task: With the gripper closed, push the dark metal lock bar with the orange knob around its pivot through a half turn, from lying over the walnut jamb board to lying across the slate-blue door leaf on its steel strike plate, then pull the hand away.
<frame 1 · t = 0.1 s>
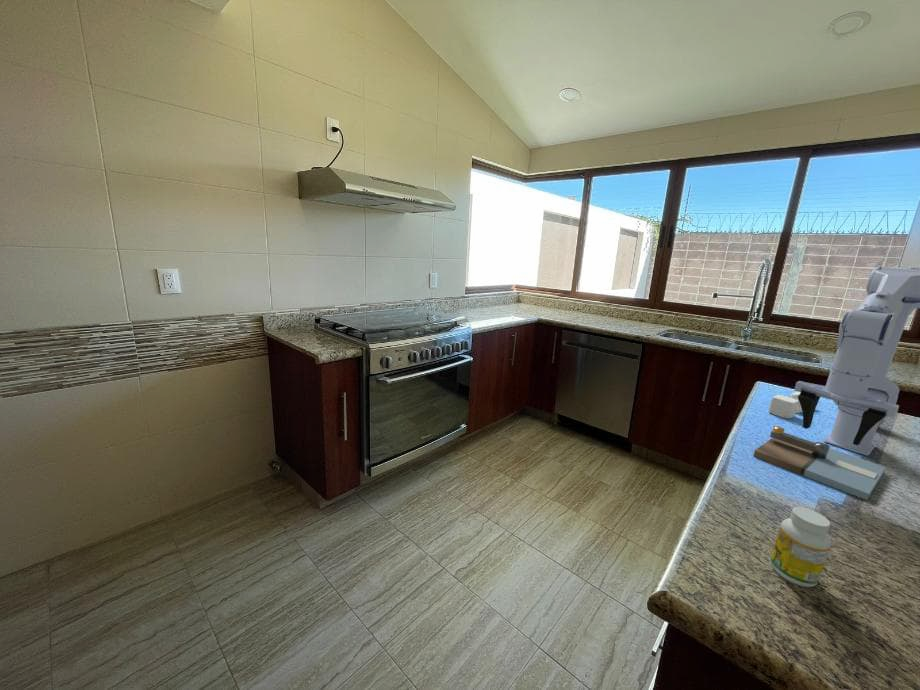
hand: (830, 435, 77), 10 cm above the worktop, tool pointing down, fingers open, 7 cm apart
supplement bottle: (792, 573, 55), on the worktop
salt shaker: (866, 426, 107), on the worktop
container set: (790, 411, 116), on the worktop
lock bar: (798, 441, 88), point 3 cm above the worktop, hinge at 0.0°
door leaf: (844, 474, 81), on the worktop
jamb board: (790, 454, 89), on the worktop
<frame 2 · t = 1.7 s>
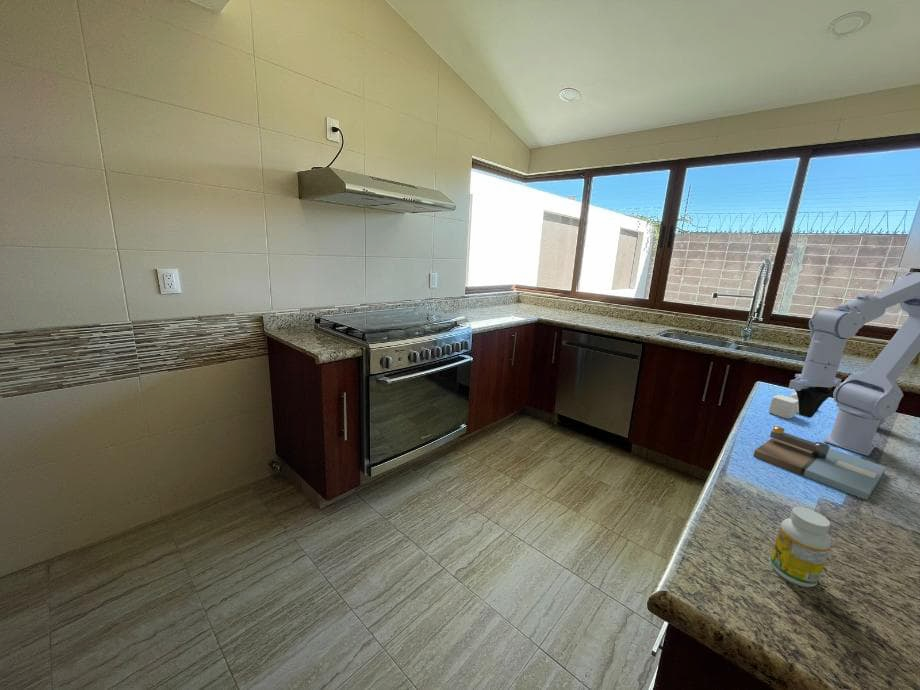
hand: (805, 415, 90), 8 cm above the worktop, tool pointing down, fingers closed
nothing on the worktop moved.
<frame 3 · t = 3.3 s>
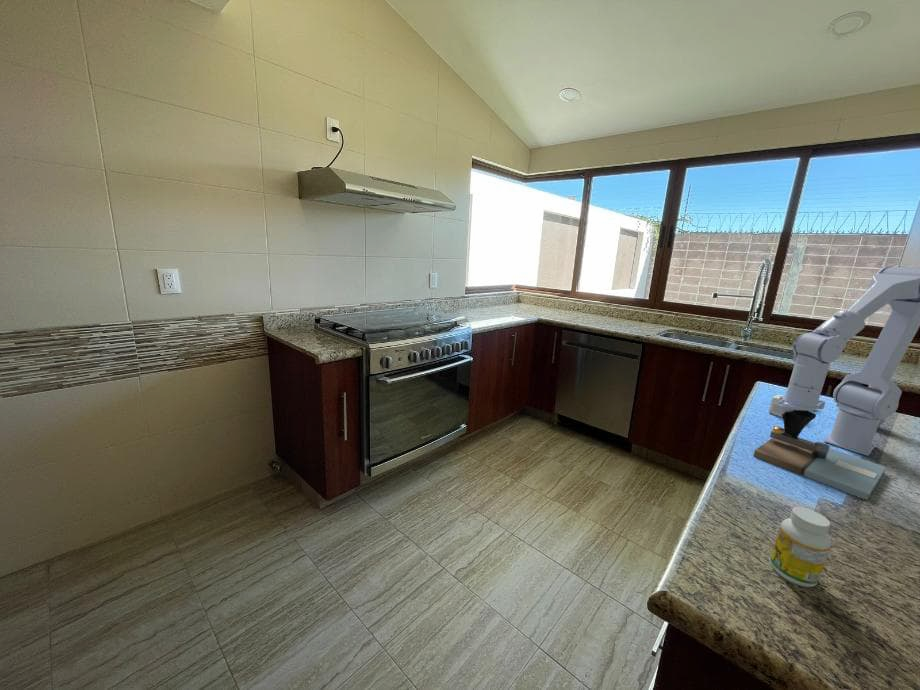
hand: (789, 437, 91), 3 cm above the worktop, tool pointing down, fingers closed, pressing on lock bar
lock bar: (798, 441, 88), point 3 cm above the worktop, hinge at 0.3°, touching gripper
everything else where it was.
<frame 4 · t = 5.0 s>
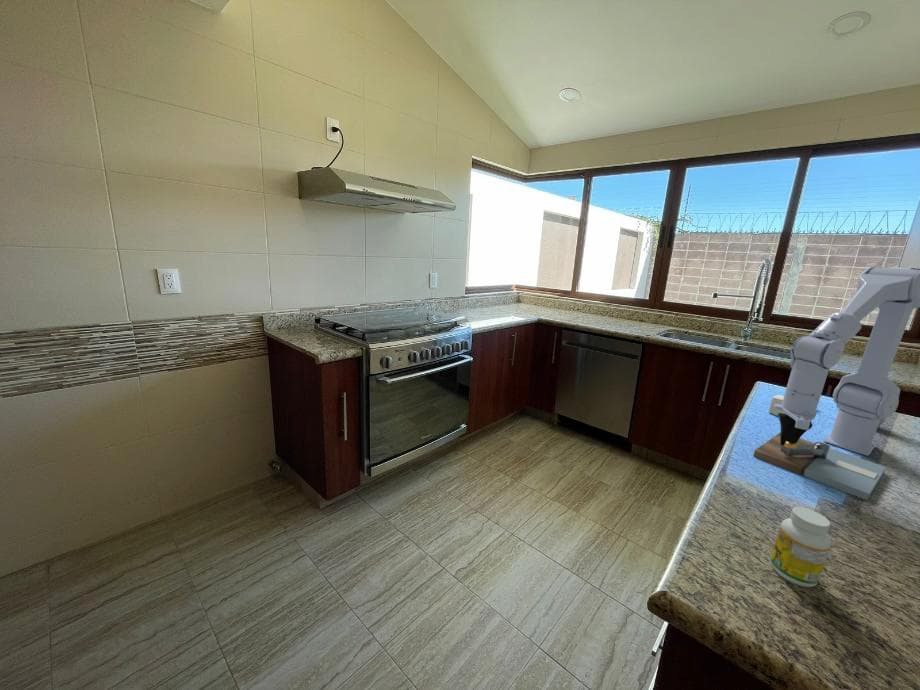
hand: (786, 446, 86), 3 cm above the worktop, tool pointing down, fingers closed, pressing on lock bar
lock bar: (805, 449, 84), point 3 cm above the worktop, hinge at 61.3°, touching gripper
everything else where it was.
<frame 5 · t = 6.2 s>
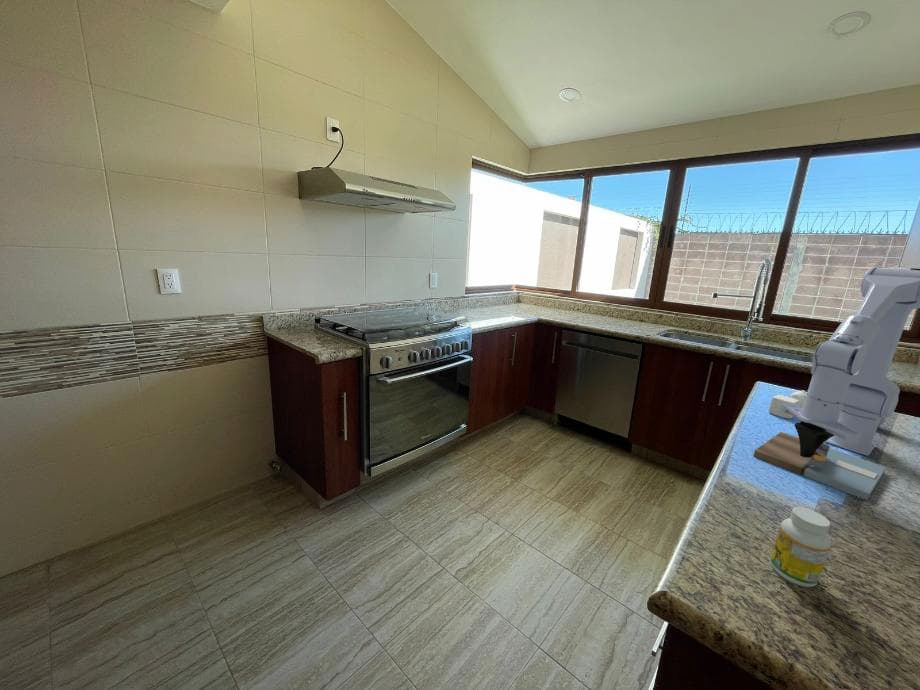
hand: (805, 456, 82), 3 cm above the worktop, tool pointing down, fingers closed, pressing on lock bar
lock bar: (819, 454, 82), point 3 cm above the worktop, hinge at 98.5°, touching gripper
everything else where it was.
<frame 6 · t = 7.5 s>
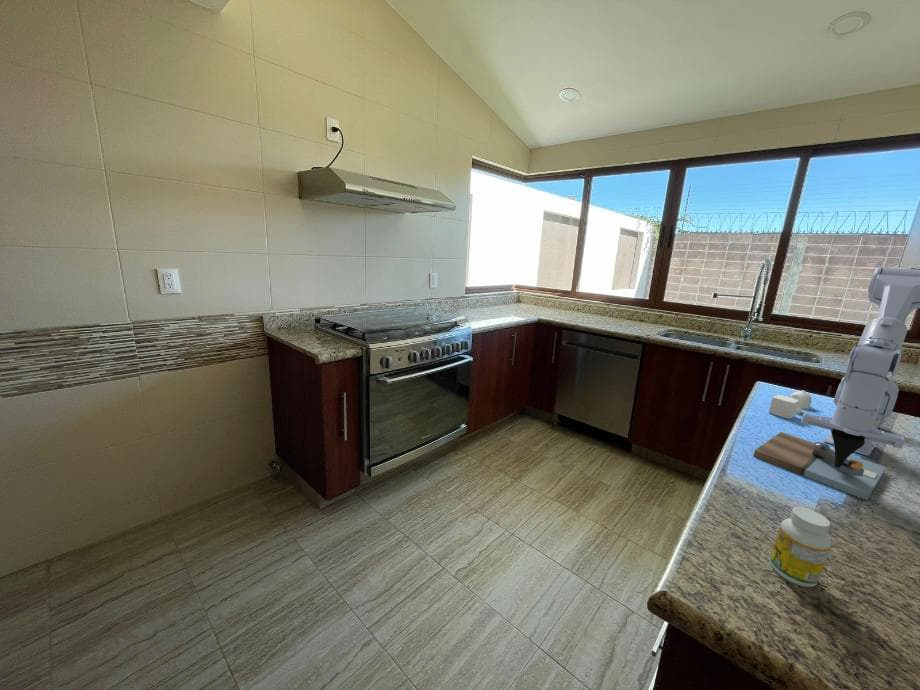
hand: (837, 465, 79), 3 cm above the worktop, tool pointing down, fingers closed, pressing on lock bar
lock bar: (836, 458, 81), point 3 cm above the worktop, hinge at 140.1°, touching gripper
everything else where it was.
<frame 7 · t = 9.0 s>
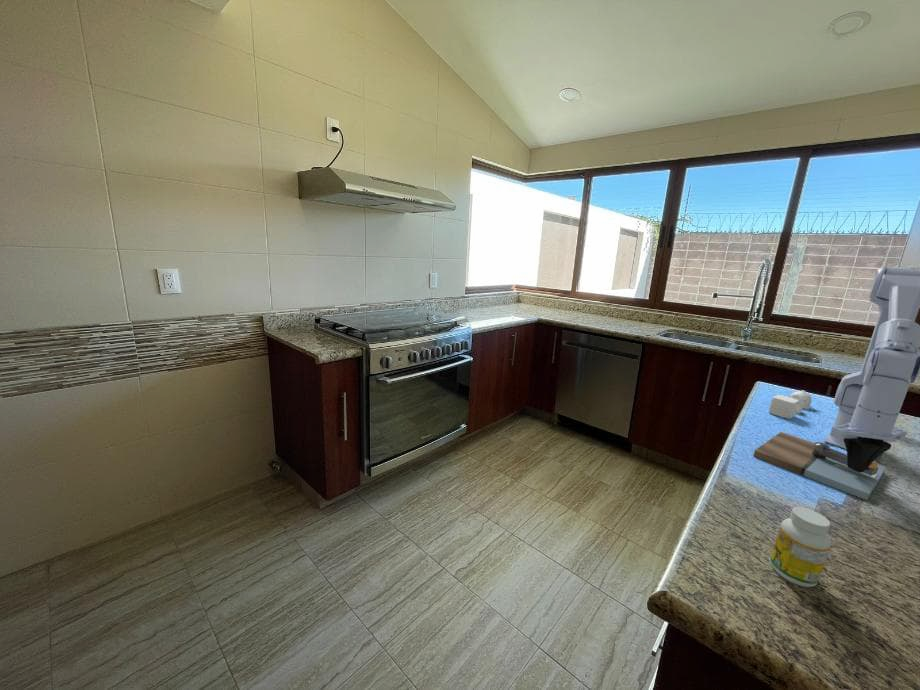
hand: (855, 469, 78), 3 cm above the worktop, tool pointing down, fingers closed
lock bar: (843, 458, 81), point 3 cm above the worktop, hinge at 166.8°
everything else where it was.
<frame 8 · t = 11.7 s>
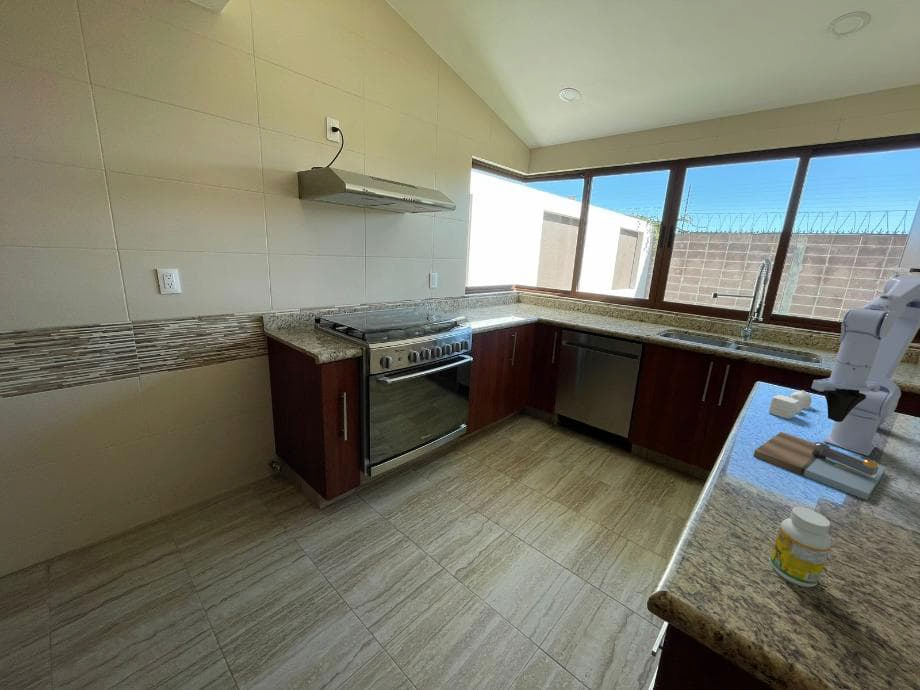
hand: (834, 419, 86), 9 cm above the worktop, tool pointing down, fingers closed
nothing on the worktop moved.
at the end: lock bar at +167° (first picture: +0°) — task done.
